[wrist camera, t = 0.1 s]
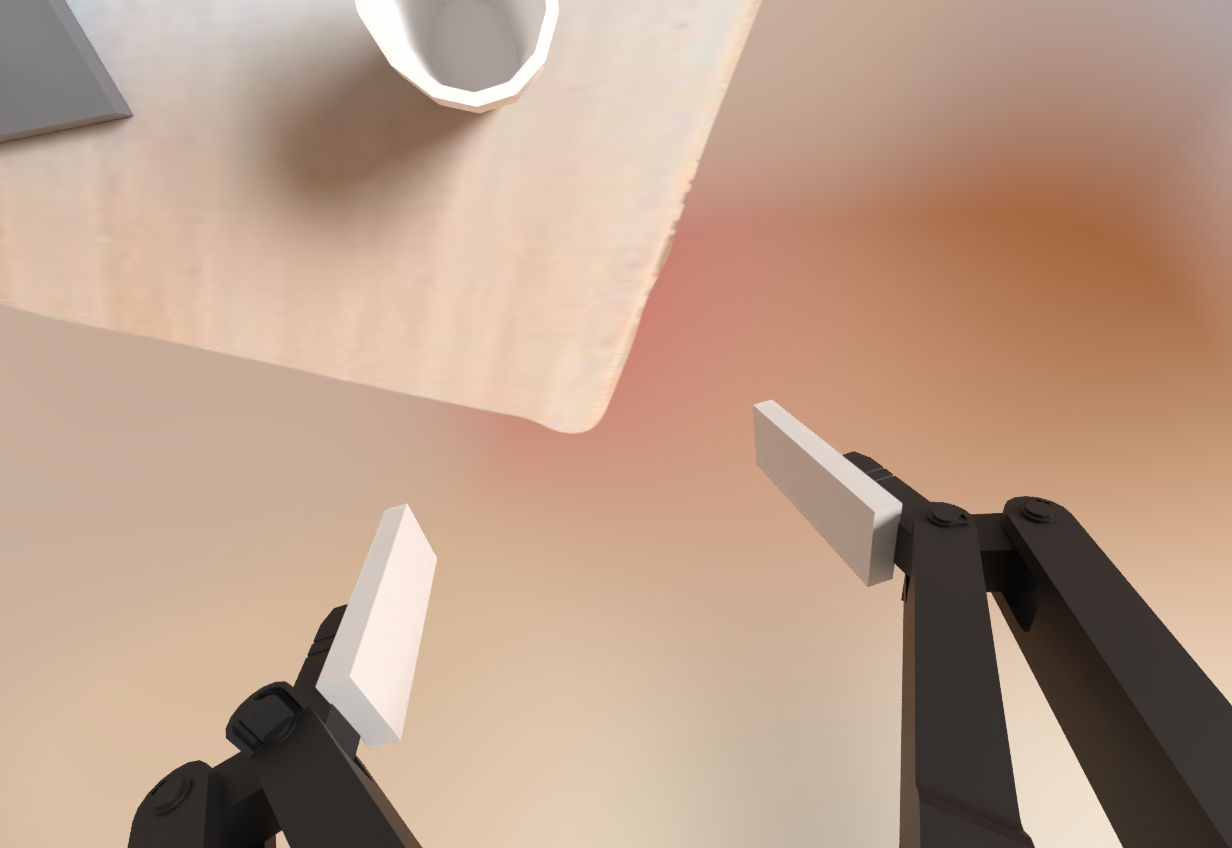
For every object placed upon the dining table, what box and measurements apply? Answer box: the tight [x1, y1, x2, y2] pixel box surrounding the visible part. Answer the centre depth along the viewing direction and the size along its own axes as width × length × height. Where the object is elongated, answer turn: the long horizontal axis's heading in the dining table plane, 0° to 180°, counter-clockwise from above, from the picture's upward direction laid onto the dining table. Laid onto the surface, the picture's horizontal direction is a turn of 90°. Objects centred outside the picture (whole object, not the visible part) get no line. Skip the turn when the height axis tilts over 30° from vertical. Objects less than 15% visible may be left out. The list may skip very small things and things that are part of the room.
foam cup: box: [355, 0, 559, 114], centre depth 27 cm, size 10×9×13 cm
